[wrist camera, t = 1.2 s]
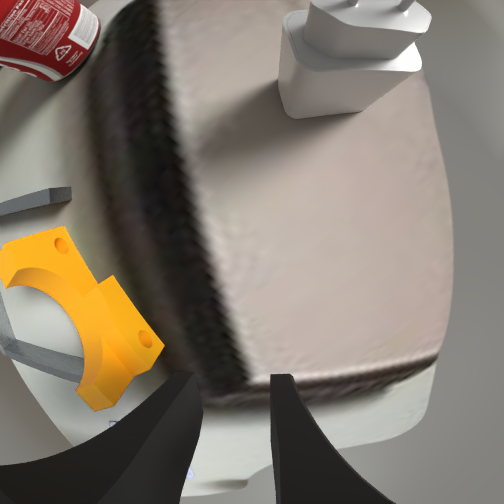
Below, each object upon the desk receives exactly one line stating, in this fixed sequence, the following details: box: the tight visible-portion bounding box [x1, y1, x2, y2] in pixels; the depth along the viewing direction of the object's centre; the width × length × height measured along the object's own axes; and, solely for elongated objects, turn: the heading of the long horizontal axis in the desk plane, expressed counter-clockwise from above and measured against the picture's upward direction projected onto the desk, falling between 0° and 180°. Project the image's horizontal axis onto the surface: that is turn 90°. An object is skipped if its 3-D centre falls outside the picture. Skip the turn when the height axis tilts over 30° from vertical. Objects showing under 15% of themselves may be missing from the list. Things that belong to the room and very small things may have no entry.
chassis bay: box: [0, 187, 85, 383], centre depth 17 cm, size 16×16×2 cm
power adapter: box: [278, 0, 431, 119], centre depth 8 cm, size 3×5×12 cm, turn 102°
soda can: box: [0, 0, 101, 82], centre depth 8 cm, size 7×7×12 cm
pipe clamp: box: [0, 226, 165, 411], centre depth 15 cm, size 12×4×6 cm, turn 32°
